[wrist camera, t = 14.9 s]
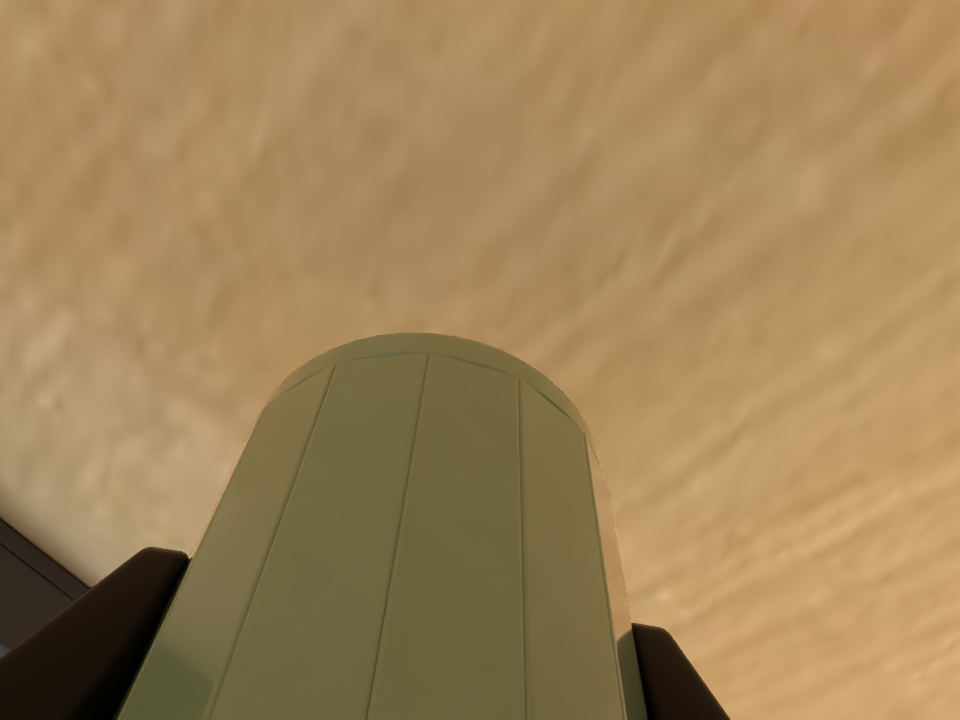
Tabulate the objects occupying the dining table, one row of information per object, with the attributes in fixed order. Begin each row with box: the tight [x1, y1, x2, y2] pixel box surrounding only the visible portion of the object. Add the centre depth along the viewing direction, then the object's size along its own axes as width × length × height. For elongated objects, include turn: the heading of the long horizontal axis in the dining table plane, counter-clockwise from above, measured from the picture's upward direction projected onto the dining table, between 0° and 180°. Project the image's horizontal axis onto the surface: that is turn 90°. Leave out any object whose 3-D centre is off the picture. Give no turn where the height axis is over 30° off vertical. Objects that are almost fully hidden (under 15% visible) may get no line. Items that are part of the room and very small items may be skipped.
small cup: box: [112, 333, 647, 720], centre depth 7 cm, size 4×4×6 cm
